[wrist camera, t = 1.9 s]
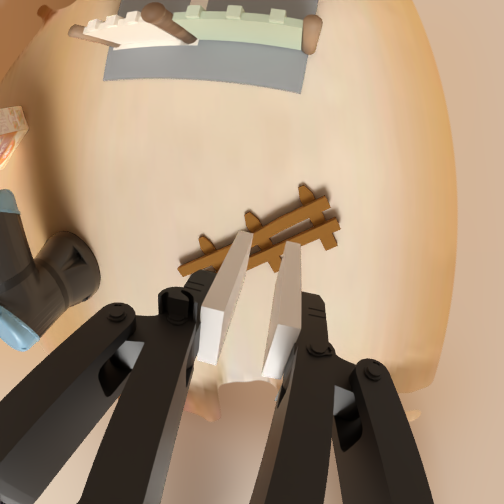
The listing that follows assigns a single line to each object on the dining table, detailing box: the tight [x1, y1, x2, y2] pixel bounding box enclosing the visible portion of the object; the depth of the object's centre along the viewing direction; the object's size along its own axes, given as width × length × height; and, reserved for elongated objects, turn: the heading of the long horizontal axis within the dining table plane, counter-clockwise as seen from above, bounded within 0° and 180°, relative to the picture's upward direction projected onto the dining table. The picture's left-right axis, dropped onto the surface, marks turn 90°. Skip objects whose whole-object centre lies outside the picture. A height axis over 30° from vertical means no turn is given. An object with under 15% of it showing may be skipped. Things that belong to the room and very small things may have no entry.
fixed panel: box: [68, 11, 179, 48], centre depth 25 cm, size 12×2×11 cm, turn 80°
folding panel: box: [172, 5, 323, 55], centre depth 24 cm, size 15×2×10 cm, turn 80°
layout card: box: [103, 0, 318, 94], centre depth 27 cm, size 30×23×1 cm
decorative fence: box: [178, 185, 341, 277], centre depth 42 cm, size 25×2×10 cm
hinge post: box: [141, 2, 197, 44], centre depth 24 cm, size 3×3×13 cm
